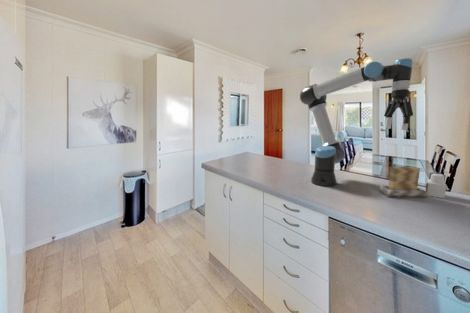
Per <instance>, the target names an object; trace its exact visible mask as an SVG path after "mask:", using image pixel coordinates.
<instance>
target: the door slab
mask: <svg viewBox="0 0 470 313" xmlns="http://www.w3.org/2000/svg"><path fill="white" fill-rule="evenodd" d="M420 170H421V168H419V167H416V166H390V169H389V178H388V185H387V186H388V189H390V190H417V188H418V187H419V186H418V184H419V180H420V179H419V178H420Z"/></svg>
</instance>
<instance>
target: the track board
mask: <svg viewBox="0 0 470 313" xmlns="http://www.w3.org/2000/svg"><path fill="white" fill-rule="evenodd" d="M378 192H380V193H381V194H382V195H385V196H386V197H388V198H405V199H407V198H408V199H409V198H410V199H411V198H412V199H413V198H414V199H416V198H417V199H419V198H420V199H426V198H427V196H426V189H422V188H420V187H417V190H390V189H388V185H379V190H378Z"/></svg>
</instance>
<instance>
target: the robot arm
mask: <svg viewBox="0 0 470 313" xmlns="http://www.w3.org/2000/svg"><path fill="white" fill-rule="evenodd" d="M412 71H413V59H412V58H409V57H408V58H407V57H406V58H405V57H404V58H400V59H399V58H398V59H397V60H395V61H394V64H391V65H383V64H382V63H381V62H379V61H370V62H369V63H367V64H366V65H365V66H363V67H361V68H358V69H355V70H353V71H350V72H347V73H344V74H342V75H340V76H336V77H335V78H332V79H329V80H326V81H324V82H321V83H319V84H317V83H314V84H310V85H309V86H306V87H303V89H302V90H300V94H299V99H300V101H301V103H302V104H304V105H307V106H308V109H309V111H311V112H312V115H313V117H314V120H315V123H316V127H317V129H318V133H319V136H320V139H321V143H322V145H320V146H318V147H316V149H315V153H314V172H313V173H312V176H311V178H310V179H311V180H310V182H311V183H312V184H314V185H317V186H322V187H323V186H324V187H333V186H336V185H337V182H338V181H337V178H336V174H335V165H336V164H338V163H339V164H340V163H341V162H342V161H343V160H344V158H346V157H345V156H346V151H345V149H344V147H342V146H341V143H340V141H339V140H337V139H336V137H335V134H334V131H333V130H334V129H333V127H332V124H331V121H330V118H329V115H328V111H327V108H326V107H327V104H328V103H327V95H330V94H331V93H335V92H338V91H341V90H345V89H347V88H350V87H352V86H355V85H358V84H361V83H362V84H363V83H364V82H367V81H368V82H381V81H388V80H392V86H391V90H392V91H391V92H390V97H391V98H392V99H389V100H388V104H387V107H386V110H385V111H384V114H383V116H384V117H385V118H386V121H385V130H386V129H392V124H393V115H394V114H395V112H396V110H397V109H398V108H399V109H400V112H401V114H402V115H403V116H402V117H401V126H400V131H407V130H409V129H408V128H409V127H408V126H409V122H410V117H413V116H414V112H413V107H412V103H411V97H409V94H410V85H411V79H412V78H411V77H412Z"/></svg>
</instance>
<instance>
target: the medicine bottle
mask: <svg viewBox="0 0 470 313" xmlns="http://www.w3.org/2000/svg"><path fill="white" fill-rule="evenodd" d="M428 177H429V178H428V179H427V180H426V183H425V184H426V185H425V191H426V197H432V196H433V197H432V198H438V197H439V199H445V198H446V197H445V196H446V190H447V184H446V182H445V181H446V175H445V174H444V173H441V172H430V173H429V176H428Z"/></svg>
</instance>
